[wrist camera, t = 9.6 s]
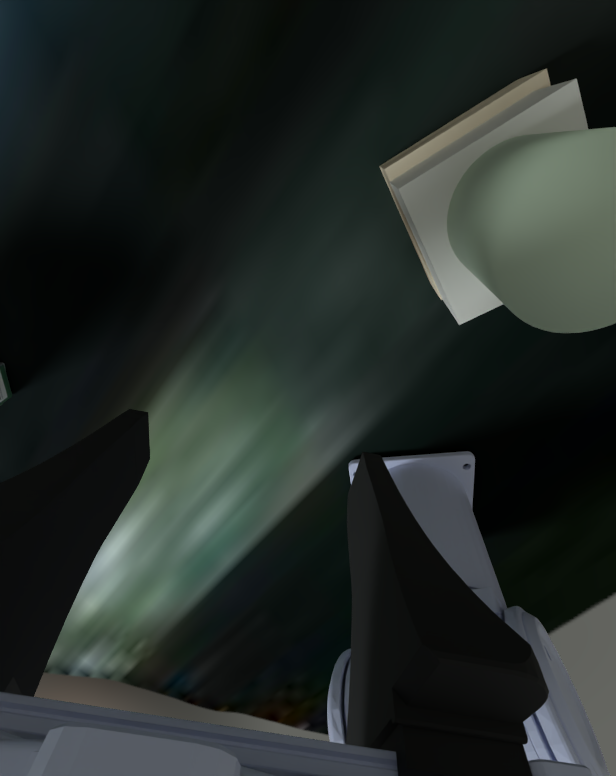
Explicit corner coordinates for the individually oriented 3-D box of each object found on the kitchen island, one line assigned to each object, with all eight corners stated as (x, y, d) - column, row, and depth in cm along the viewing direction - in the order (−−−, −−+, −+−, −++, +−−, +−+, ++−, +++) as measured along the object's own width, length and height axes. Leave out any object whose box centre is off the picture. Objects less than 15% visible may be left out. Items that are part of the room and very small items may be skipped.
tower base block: (552, 218, 19) (584, 230, 16) (429, 281, 21) (441, 300, 18) (514, 80, 16) (546, 68, 14) (378, 166, 18) (384, 169, 16)
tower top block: (573, 234, 16) (616, 250, 14) (442, 299, 18) (459, 325, 15) (534, 90, 14) (576, 78, 11) (389, 182, 16) (398, 189, 13)
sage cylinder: (564, 279, 14) (658, 334, 10) (437, 278, 15) (476, 331, 10) (610, 132, 12) (756, 123, 8) (459, 135, 12) (520, 127, 8)
